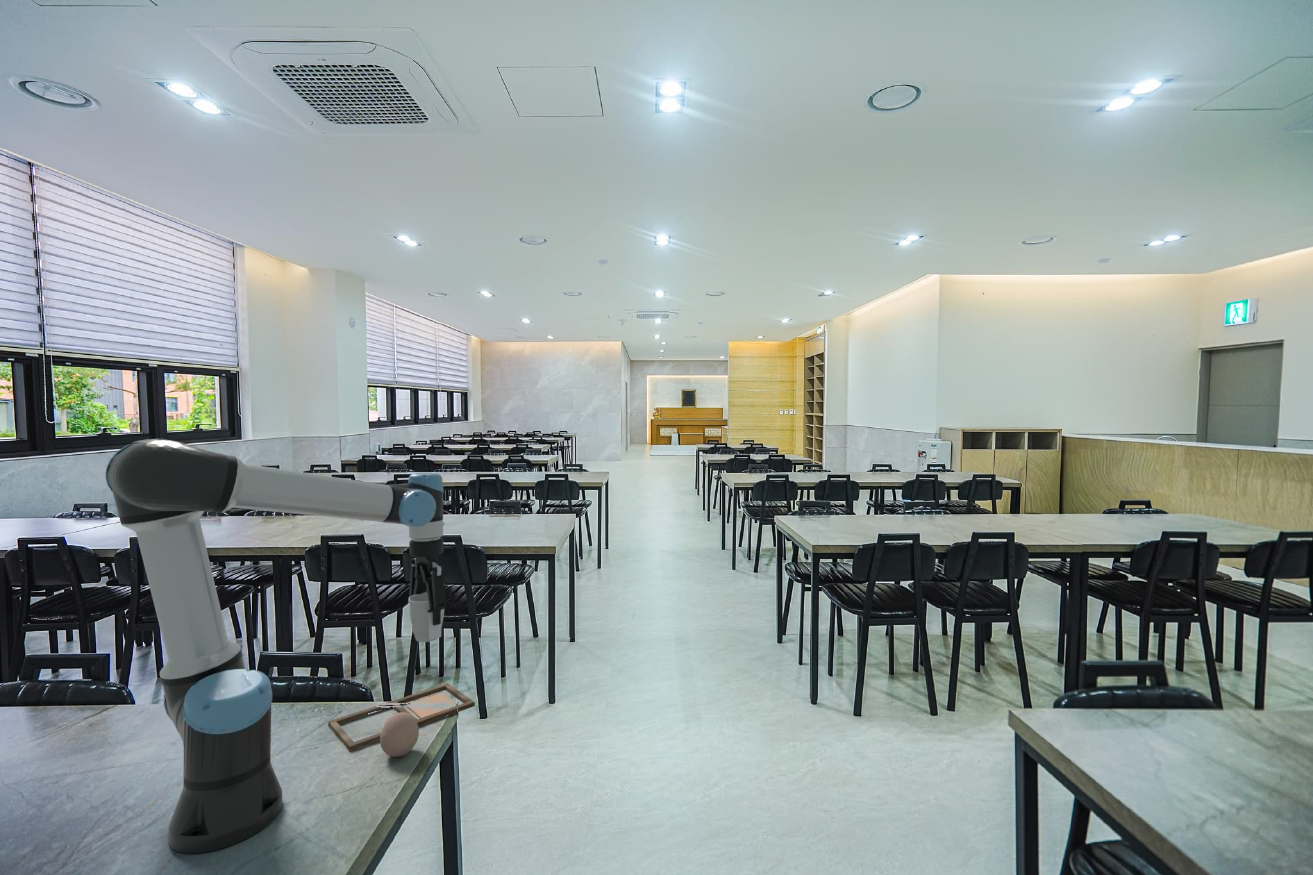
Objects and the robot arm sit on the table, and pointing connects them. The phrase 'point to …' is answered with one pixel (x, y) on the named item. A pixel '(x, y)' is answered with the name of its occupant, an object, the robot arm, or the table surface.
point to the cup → (420, 616)
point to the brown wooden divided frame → (369, 740)
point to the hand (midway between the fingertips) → (427, 633)
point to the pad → (426, 712)
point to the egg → (399, 735)
